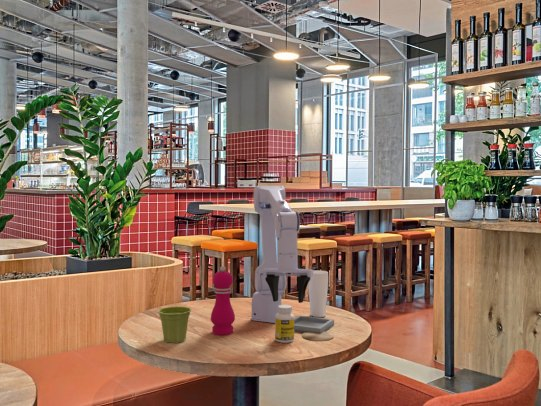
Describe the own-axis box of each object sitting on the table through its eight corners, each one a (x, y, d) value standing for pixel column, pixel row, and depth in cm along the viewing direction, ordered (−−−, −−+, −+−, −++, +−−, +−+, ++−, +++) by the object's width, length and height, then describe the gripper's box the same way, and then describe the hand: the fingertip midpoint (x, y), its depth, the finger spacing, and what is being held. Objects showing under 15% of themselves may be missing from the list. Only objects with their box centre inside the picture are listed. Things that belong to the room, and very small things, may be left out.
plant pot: (152, 339, 151) (152, 309, 151) (182, 333, 157) (182, 304, 157) (166, 347, 144) (166, 315, 144) (197, 341, 149) (197, 310, 149)
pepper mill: (224, 327, 164) (224, 263, 163) (239, 332, 158) (239, 266, 158) (205, 332, 158) (205, 265, 158) (221, 337, 153) (221, 268, 153)
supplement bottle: (279, 344, 147) (280, 309, 147) (272, 338, 152) (272, 305, 151) (297, 341, 149) (297, 307, 149) (289, 336, 154) (289, 303, 154)
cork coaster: (297, 338, 152) (297, 336, 152) (309, 330, 160) (309, 329, 160) (326, 342, 148) (327, 341, 148) (337, 334, 156) (337, 333, 156)
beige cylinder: (327, 318, 175) (327, 273, 175) (306, 317, 176) (306, 273, 176) (328, 314, 182) (329, 270, 181) (309, 313, 183) (309, 269, 183)
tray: (283, 329, 162) (283, 323, 162) (299, 320, 172) (299, 315, 172) (320, 334, 156) (320, 328, 156) (334, 325, 167) (334, 319, 167)
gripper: (258, 254, 150) (259, 302, 149) (307, 254, 144) (307, 304, 144) (268, 252, 156) (268, 299, 156) (315, 253, 151) (315, 301, 150)
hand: (288, 301), depth 150 cm, fingers open, 7 cm apart
